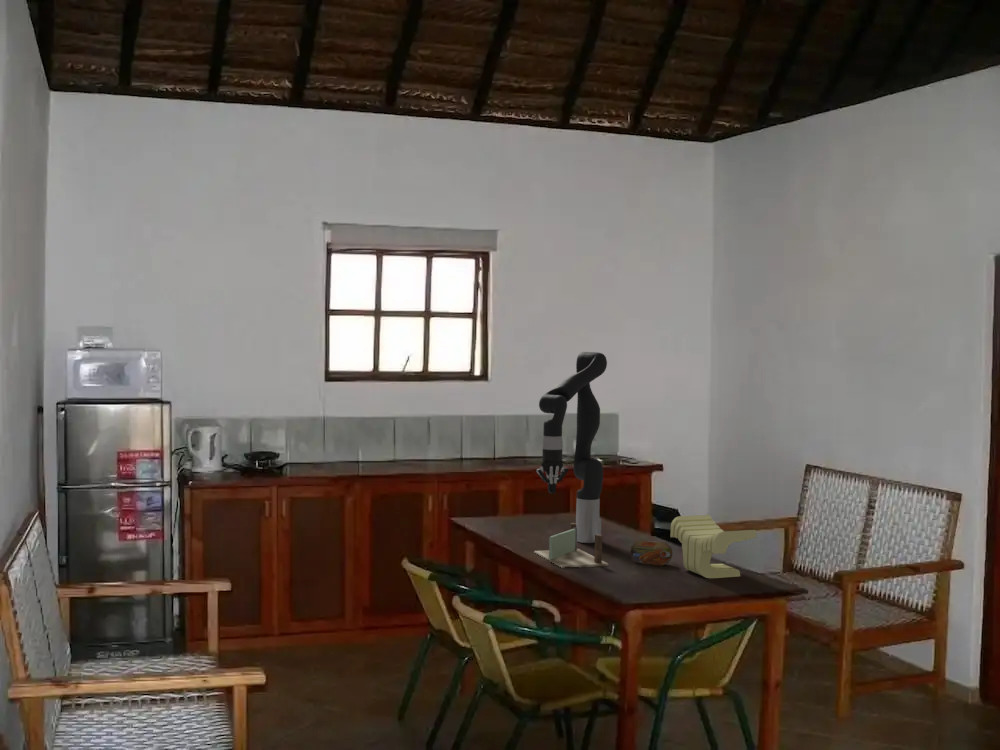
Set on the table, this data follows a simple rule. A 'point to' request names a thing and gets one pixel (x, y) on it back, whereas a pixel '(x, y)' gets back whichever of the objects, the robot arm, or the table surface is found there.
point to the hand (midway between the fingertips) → (551, 493)
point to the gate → (563, 543)
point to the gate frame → (578, 555)
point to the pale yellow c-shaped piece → (706, 544)
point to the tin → (651, 552)
